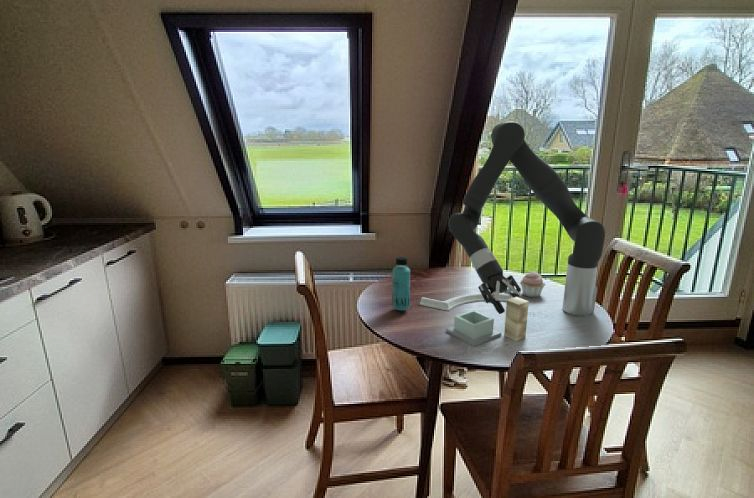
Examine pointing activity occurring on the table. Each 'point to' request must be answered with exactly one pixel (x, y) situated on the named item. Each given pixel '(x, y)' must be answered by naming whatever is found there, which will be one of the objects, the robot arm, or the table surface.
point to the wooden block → (516, 318)
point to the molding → (459, 301)
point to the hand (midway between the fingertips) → (511, 309)
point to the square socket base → (473, 328)
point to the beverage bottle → (401, 285)
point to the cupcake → (532, 284)
